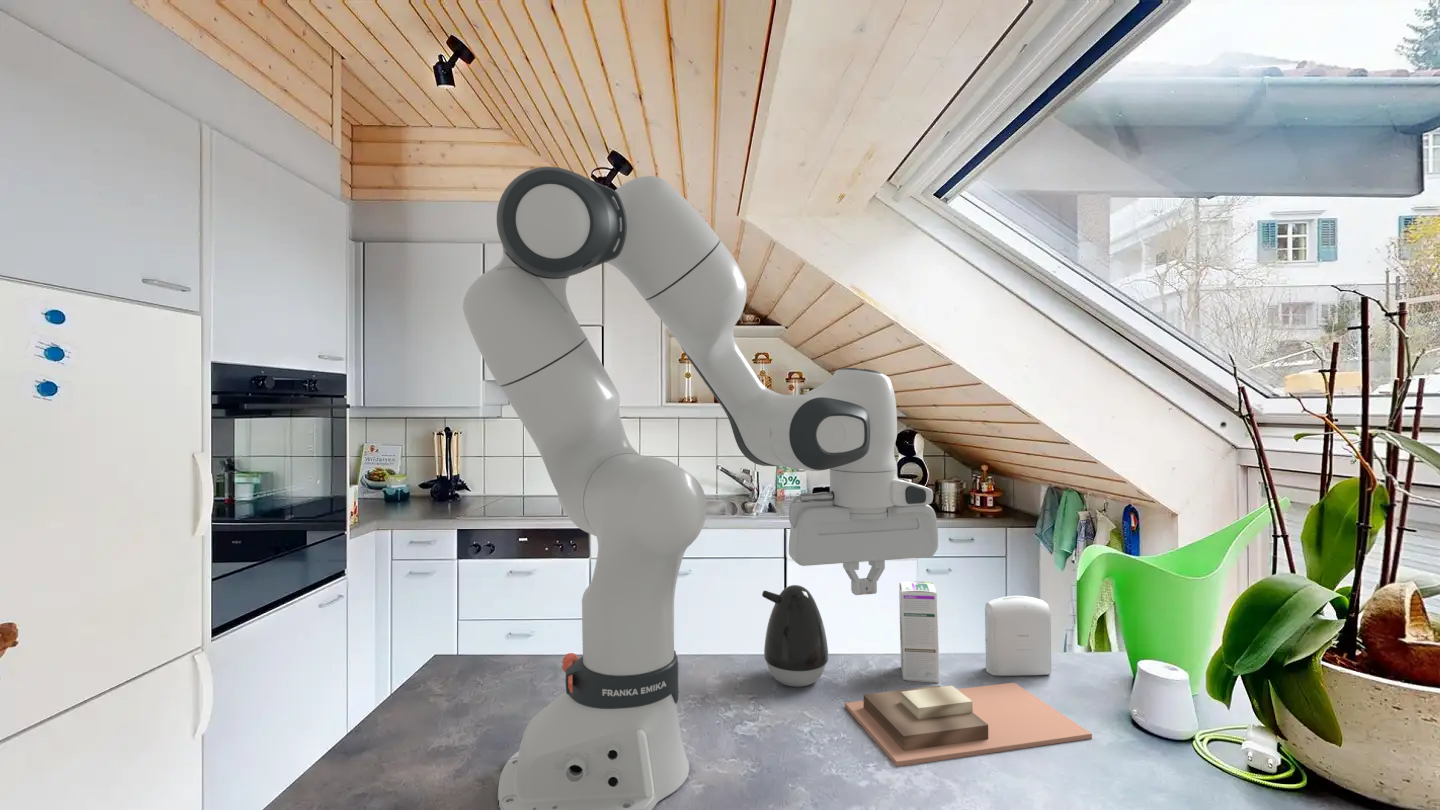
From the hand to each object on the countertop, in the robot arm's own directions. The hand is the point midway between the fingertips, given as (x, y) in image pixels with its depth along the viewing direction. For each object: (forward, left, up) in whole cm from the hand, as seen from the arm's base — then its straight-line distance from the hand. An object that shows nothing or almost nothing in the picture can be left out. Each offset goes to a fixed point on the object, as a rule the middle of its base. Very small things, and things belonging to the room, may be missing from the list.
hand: (863, 593), depth 90 cm
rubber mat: (+15, 0, -19) cm, 24 cm away
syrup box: (+17, +15, -19) cm, 30 cm away
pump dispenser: (-3, +18, -19) cm, 27 cm away
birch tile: (+11, 0, -17) cm, 20 cm away
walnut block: (+9, 0, -19) cm, 21 cm away
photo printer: (+33, +12, -19) cm, 40 cm away
